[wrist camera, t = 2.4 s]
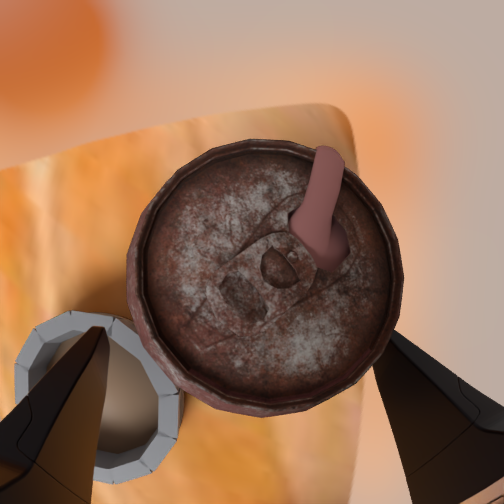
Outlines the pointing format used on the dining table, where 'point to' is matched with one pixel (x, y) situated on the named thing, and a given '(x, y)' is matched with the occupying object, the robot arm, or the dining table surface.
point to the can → (264, 277)
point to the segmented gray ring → (113, 393)
